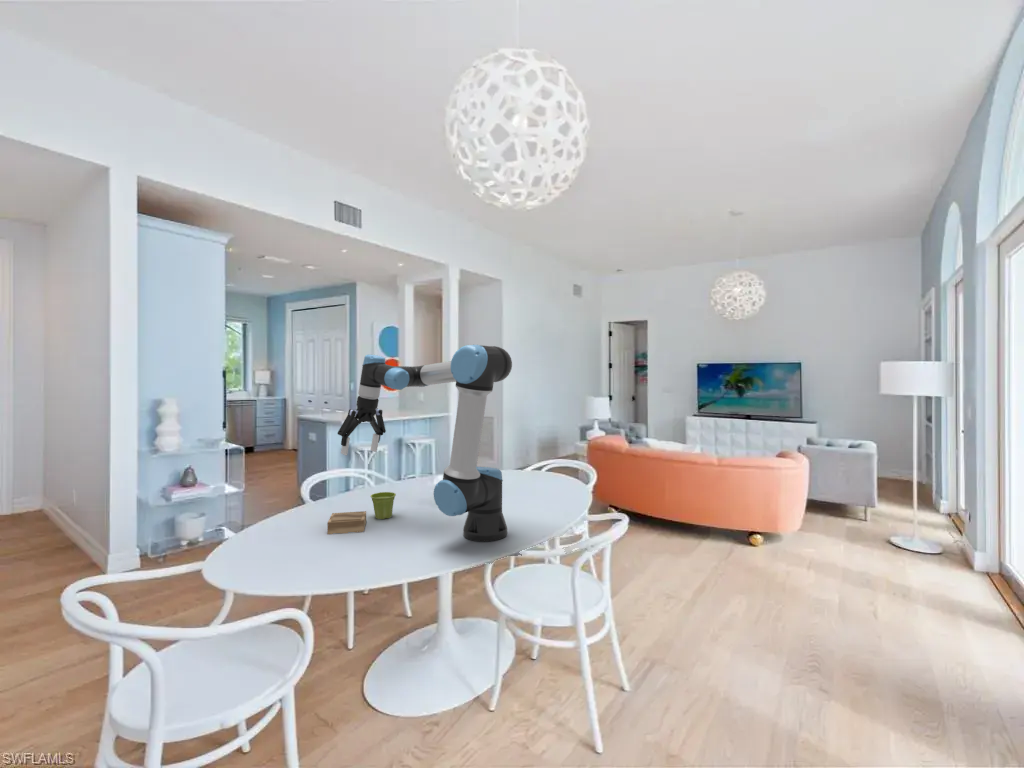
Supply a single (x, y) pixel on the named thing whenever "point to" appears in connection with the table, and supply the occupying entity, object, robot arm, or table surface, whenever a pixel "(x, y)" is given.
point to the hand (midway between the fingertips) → (359, 452)
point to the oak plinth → (347, 522)
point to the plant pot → (383, 504)
